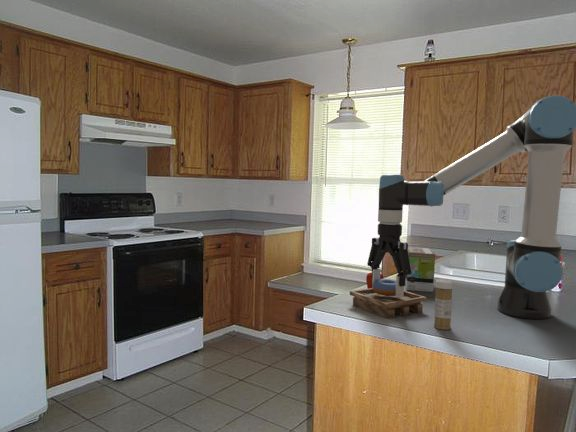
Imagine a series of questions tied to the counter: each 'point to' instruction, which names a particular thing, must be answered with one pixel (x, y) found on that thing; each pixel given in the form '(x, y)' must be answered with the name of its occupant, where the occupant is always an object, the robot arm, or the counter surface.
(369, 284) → the red bell pepper
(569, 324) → the counter surface
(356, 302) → the wooden pallet tray
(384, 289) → the doughnut
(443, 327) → the sprinkles bottle
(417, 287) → the tea box
